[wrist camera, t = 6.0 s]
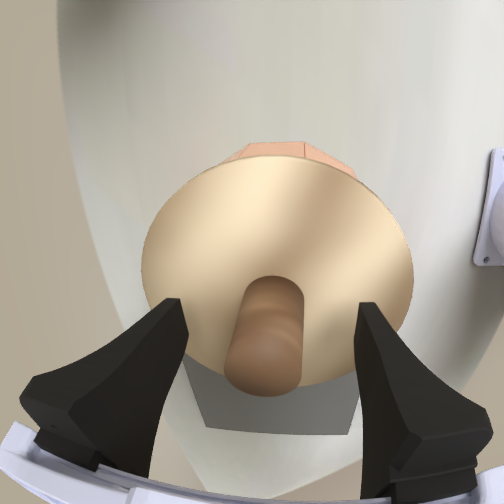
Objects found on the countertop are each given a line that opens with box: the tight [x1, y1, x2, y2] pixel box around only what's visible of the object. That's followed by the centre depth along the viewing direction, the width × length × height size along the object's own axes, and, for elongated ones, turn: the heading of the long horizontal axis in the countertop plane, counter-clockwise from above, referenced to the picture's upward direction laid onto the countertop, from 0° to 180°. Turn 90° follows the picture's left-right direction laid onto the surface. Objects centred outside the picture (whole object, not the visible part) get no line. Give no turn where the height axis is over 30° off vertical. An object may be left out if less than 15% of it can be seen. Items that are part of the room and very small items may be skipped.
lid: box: [141, 155, 414, 397], centre depth 13 cm, size 13×13×5 cm
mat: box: [182, 353, 360, 435], centre depth 27 cm, size 15×15×1 cm
